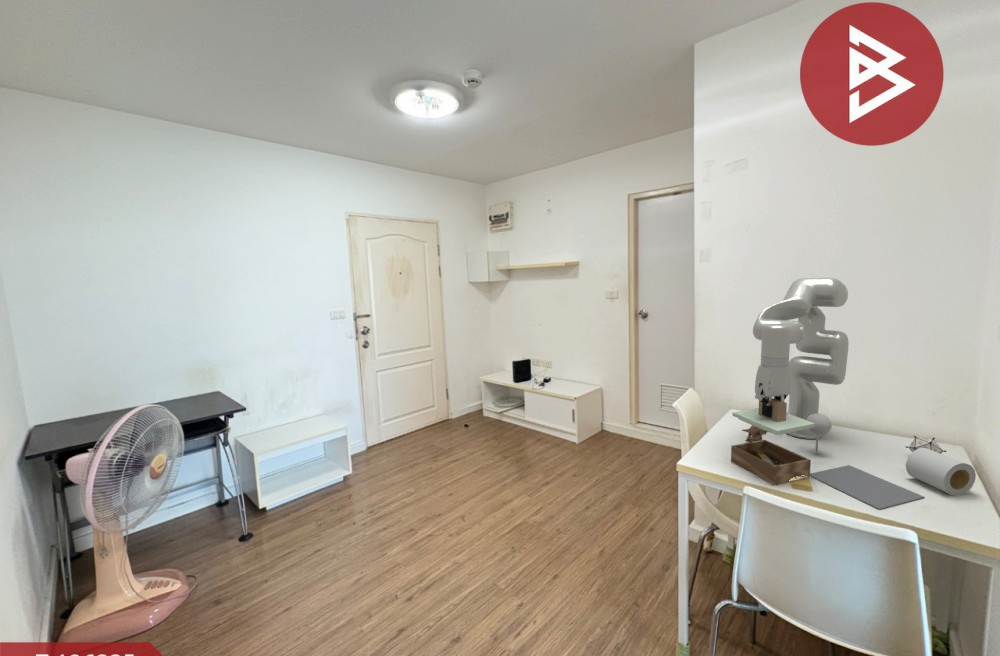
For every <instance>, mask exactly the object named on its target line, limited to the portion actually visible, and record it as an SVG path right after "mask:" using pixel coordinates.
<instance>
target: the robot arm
mask: <svg viewBox="0 0 1000 656" xmlns="http://www.w3.org/2000/svg"><path fill="white" fill-rule="evenodd" d="M848 296H849V292H848V287H847V286H846V285H845V284H844V283H843V282H842V281H841V280H839V279H838V278H834V277H804V278H803V277H802V278H798V279H796V280H794V281H793V282H792V283H791V285H790V287H789V288H788V290H787V291H786V294H785V295H784V297H783V299H782V300H781V301H777V302H776V303H774V304H771V305H770V306H767V307H765V308H764V309H763V310H762V311H761V312H760V313H759V314H758V315H757V318H756V319H755V322H754V324H753V327H752V334H753V336H754V338H755V340H758V341H761V344H760V345H761V346H760V347H761V348H760V349H761V351H760V365H758V368H757V371H756V375H755V381H754V394H755V396H754V399H756V400H758V402H759V401H760V402H761V404H762V415H764V416H766V417H769V418H771V417H772V406H771V401H772V398H773V399H776V400H779V401H782V402H785V400H786V399H787V397H788V410H787V411H788V413H787V414H790V415H793V416H796V417H798V418H801V419H804V420H807V418H808V417H809V416H810V415H812V414H819V407H820V391H819V388H818V387H817V386H816V384H815V383H819V384H826V385H836V386H837V385H841V384H843V383H844V381H845V377H846V372H847V365H848V364H847V363H848V355H849V353H848V352H849V342H850V341H849V337H848V335H847V334H846V333H845V332H843V331H840V330H828V329H826V321H827V319H826V315H825V313H824V312H823V310H821V309H820V307H823V308H825V307H827V308H840V307H843V306H844V305H845V304H846V303H847V301H848V298H849V297H848ZM796 319H797V321H796ZM791 345H795V348H796V350H797V351H799V352H802V353H806V354H813V355H814V354H815V355H823V356H829V357H830V358H825V357H814V356H806V355H805V356H803V355H797V356H793V357H792V358H791V359H790V346H791ZM766 398H768V399H767V400H766ZM786 434H787V435H789V436H791V437H795V438H798V439H804V440H816V436H817V433H814V432H812V431H811V430H809V429H806V430H801V431H796V432H791V433H786ZM822 435H823V434H819V439H820V438H822V437H823V436H822Z"/></svg>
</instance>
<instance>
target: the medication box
mask: <svg viewBox="0 0 1000 656" xmlns="http://www.w3.org/2000/svg"><path fill="white" fill-rule="evenodd" d="M756 457H757V458H759V459H761V460H763V461H765V462H767V463H769V464H771V465H773V466H776V465H775V464H774V463H773V461H772V460H770V459H769V457H768V456H767V455H766V454H765V452H760V451H756Z"/></svg>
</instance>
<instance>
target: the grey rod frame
mask: <svg viewBox="0 0 1000 656" xmlns="http://www.w3.org/2000/svg"><path fill="white" fill-rule="evenodd" d="M913 438H914V439H913V440H912V442H911V443H910V444H909V446H907V445H906V446H905V448H906V449H909V450H910V451H911V453H912V452H914V451H915V450H917V449H920V448H927V449H930V450H932V451H935V452H938V453H940V454H942V453H943V452H944V453H947V452H948V451H947V450H945V449H944V450H943V449H942V448H941V446H940V445H939V444H938V443H937V442H936V441H935V439H936V438H935V436H934V437H932V438H926V437H917V436H916V435H913Z"/></svg>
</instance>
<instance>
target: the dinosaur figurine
mask: <svg viewBox="0 0 1000 656" xmlns="http://www.w3.org/2000/svg"><path fill="white" fill-rule="evenodd" d="M741 431H742V432H745V433H747V435H748V436H747V437H746V439H745V440H744V441H745V442H746V443H749V442H753V440H754V441H760V440H763V436H765V435H767V433H768V432H767V431H765V430H763V429H760V428H758V427H756V426H753V425H751V426H750V427H749V428H747V429H741Z"/></svg>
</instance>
